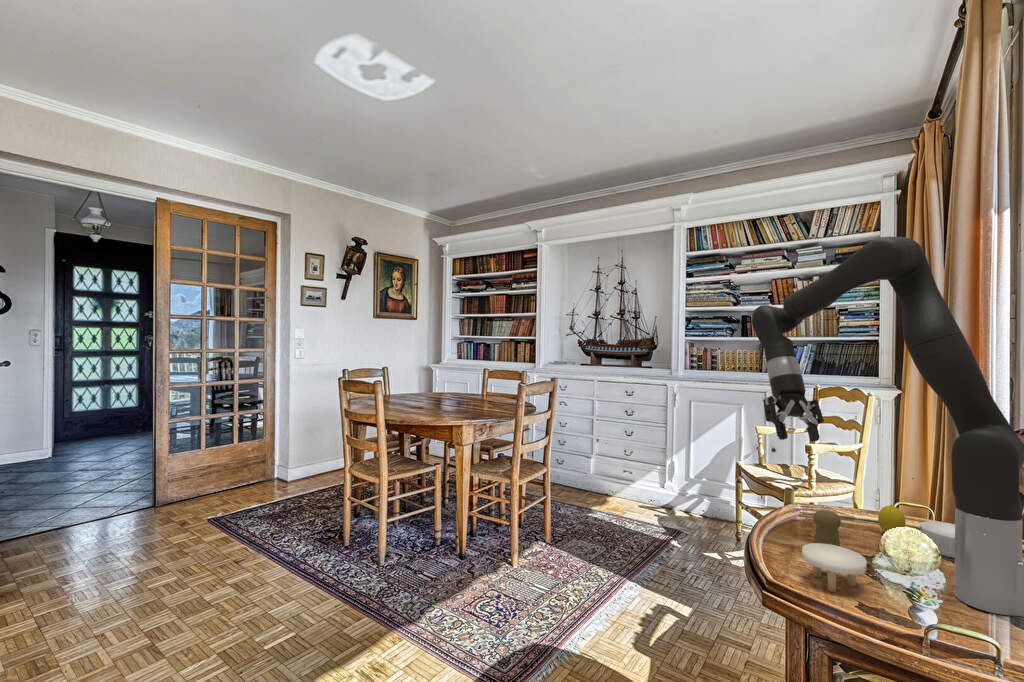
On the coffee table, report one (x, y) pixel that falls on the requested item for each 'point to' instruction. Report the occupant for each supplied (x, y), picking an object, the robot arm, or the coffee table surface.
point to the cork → (827, 527)
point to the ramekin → (941, 536)
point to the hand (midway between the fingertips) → (799, 440)
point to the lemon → (891, 518)
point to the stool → (834, 562)
